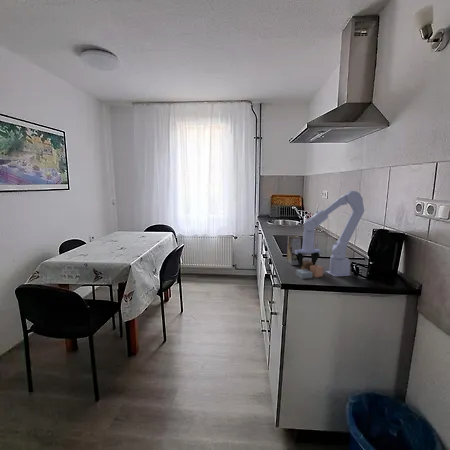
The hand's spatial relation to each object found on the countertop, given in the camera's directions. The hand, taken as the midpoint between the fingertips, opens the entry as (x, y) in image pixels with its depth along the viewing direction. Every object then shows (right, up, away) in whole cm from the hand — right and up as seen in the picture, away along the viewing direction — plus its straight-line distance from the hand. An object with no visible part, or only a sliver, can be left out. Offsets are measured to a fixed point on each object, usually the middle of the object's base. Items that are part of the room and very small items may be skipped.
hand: (306, 266), depth 146 cm
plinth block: (-4, -4, -9) cm, 10 cm away
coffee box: (-3, 0, +15) cm, 15 cm away
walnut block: (0, -3, 0) cm, 3 cm away
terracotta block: (+3, -4, -7) cm, 9 cm away
